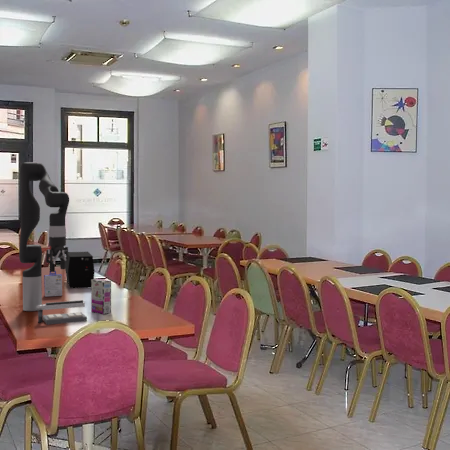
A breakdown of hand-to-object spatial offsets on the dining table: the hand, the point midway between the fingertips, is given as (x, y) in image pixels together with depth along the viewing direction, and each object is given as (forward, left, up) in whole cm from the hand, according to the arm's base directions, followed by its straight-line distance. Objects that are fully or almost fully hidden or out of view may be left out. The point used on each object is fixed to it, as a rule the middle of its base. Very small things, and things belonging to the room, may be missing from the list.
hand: (57, 270), depth 274 cm
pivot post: (-2, -8, -24) cm, 25 cm away
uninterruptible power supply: (-111, +33, -24) cm, 118 cm away
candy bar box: (-13, +23, -24) cm, 36 cm away
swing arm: (-2, +1, -18) cm, 18 cm away
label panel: (-2, +3, -24) cm, 24 cm away
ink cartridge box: (-74, +10, -24) cm, 78 cm away
